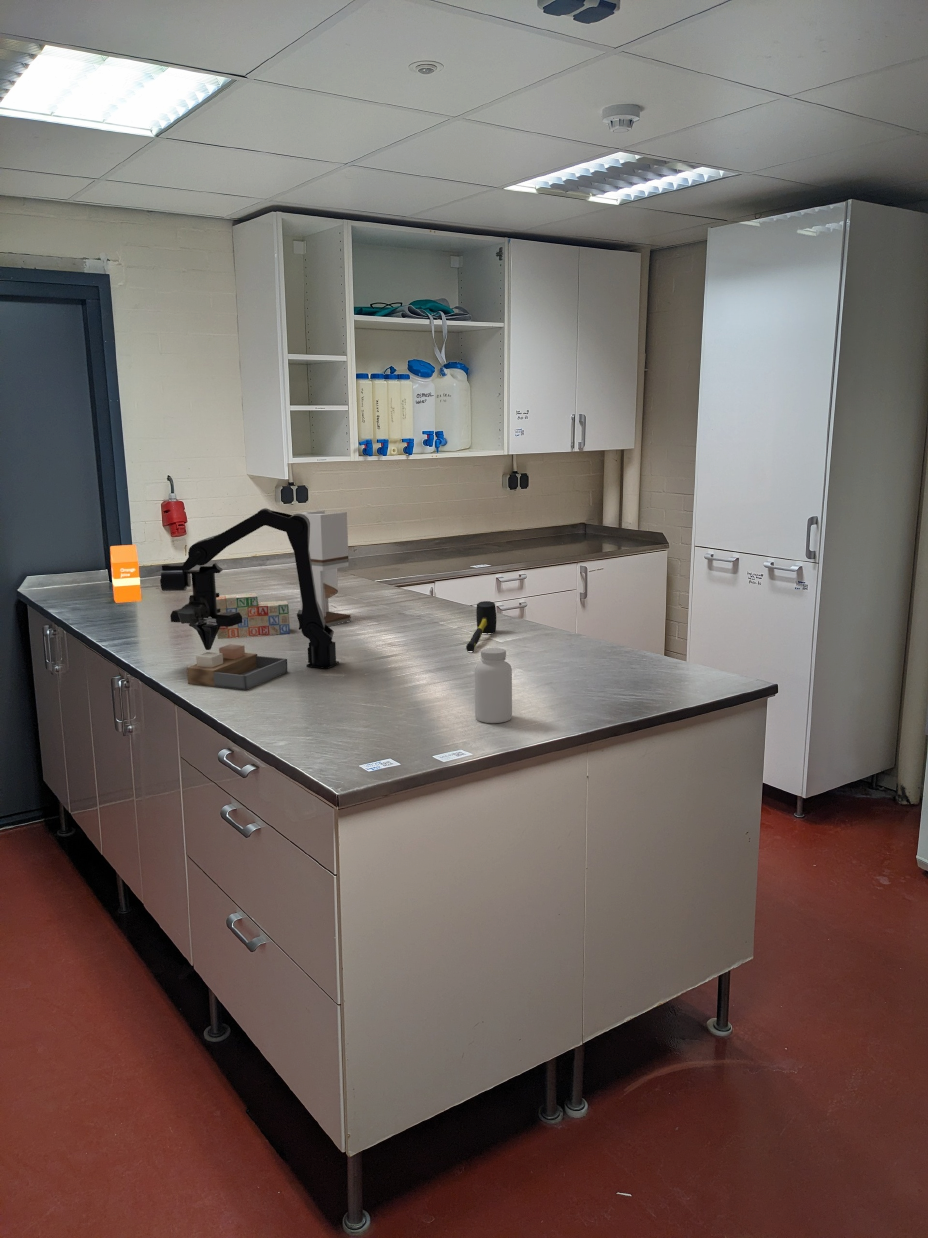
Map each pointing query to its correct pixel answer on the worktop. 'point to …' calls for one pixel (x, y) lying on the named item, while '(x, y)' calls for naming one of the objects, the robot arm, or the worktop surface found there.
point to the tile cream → (209, 659)
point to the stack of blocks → (254, 616)
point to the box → (253, 674)
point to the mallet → (483, 622)
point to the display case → (328, 558)
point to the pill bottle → (493, 687)
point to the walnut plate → (221, 669)
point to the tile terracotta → (232, 651)
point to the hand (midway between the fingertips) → (208, 649)
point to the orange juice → (125, 573)
